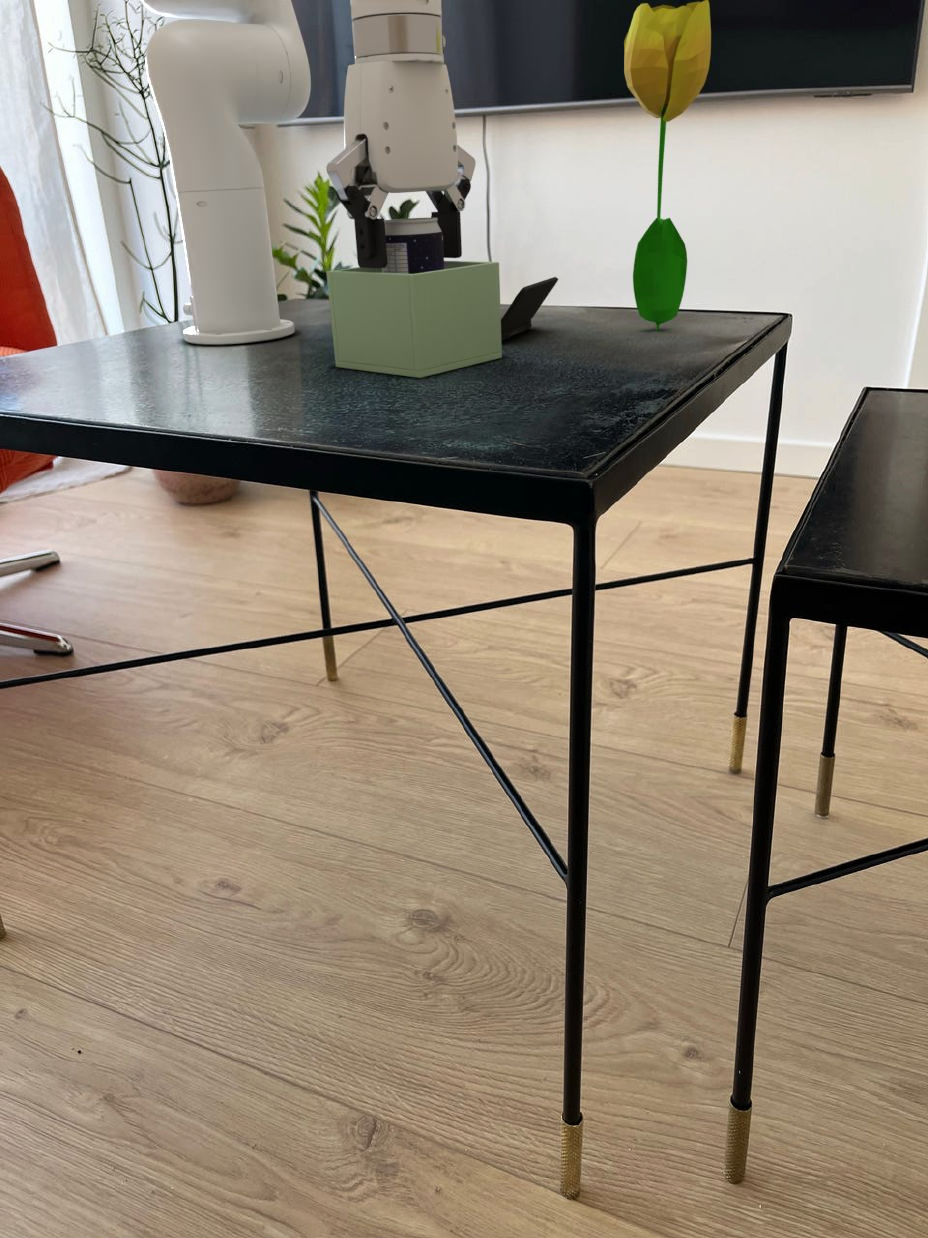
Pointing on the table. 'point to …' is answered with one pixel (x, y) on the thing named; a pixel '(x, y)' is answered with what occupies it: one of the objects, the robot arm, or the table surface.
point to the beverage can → (413, 246)
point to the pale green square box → (416, 318)
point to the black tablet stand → (525, 307)
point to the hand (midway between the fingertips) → (411, 262)
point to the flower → (664, 86)
